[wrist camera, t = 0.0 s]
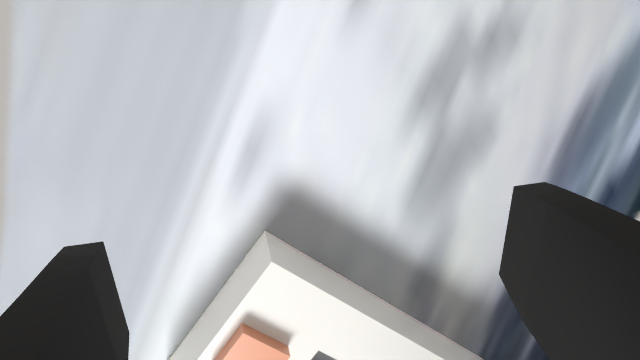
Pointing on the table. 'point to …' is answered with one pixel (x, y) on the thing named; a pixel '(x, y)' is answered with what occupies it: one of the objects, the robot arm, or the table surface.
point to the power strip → (306, 316)
